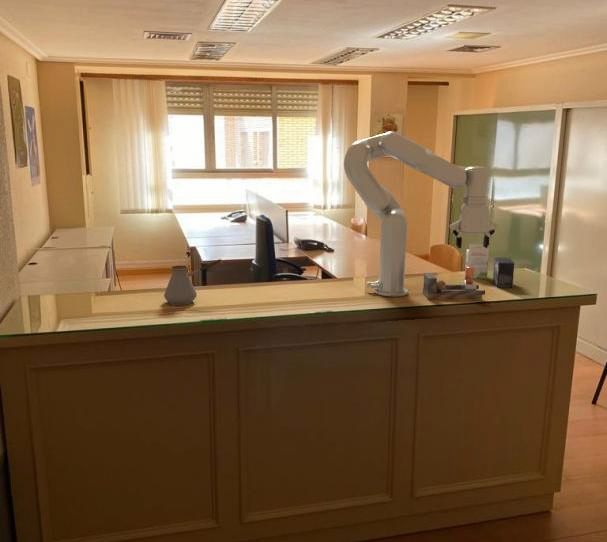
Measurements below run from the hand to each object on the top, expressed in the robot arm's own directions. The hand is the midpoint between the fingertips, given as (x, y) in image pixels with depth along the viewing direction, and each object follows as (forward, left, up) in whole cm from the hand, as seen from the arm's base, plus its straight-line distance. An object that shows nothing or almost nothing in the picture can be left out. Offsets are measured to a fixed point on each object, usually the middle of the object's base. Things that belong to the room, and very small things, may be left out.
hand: (472, 247), depth 219 cm
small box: (+19, +18, -19) cm, 32 cm away
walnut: (-11, 0, -17) cm, 20 cm away
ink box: (+12, +31, -19) cm, 38 cm away
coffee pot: (-101, -8, -19) cm, 103 cm away
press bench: (-6, 0, -19) cm, 20 cm away
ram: (0, 0, -17) cm, 16 cm away
